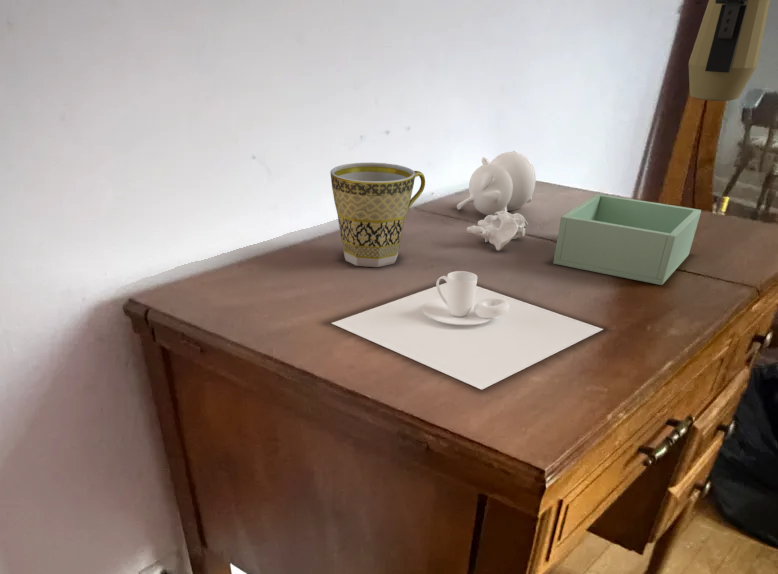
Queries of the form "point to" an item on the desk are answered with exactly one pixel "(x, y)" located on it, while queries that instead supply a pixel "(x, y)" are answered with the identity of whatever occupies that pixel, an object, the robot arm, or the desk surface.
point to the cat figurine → (501, 184)
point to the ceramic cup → (373, 209)
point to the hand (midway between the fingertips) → (724, 68)
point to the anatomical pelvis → (500, 228)
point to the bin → (626, 237)
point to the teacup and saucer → (468, 330)
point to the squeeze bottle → (745, 56)
